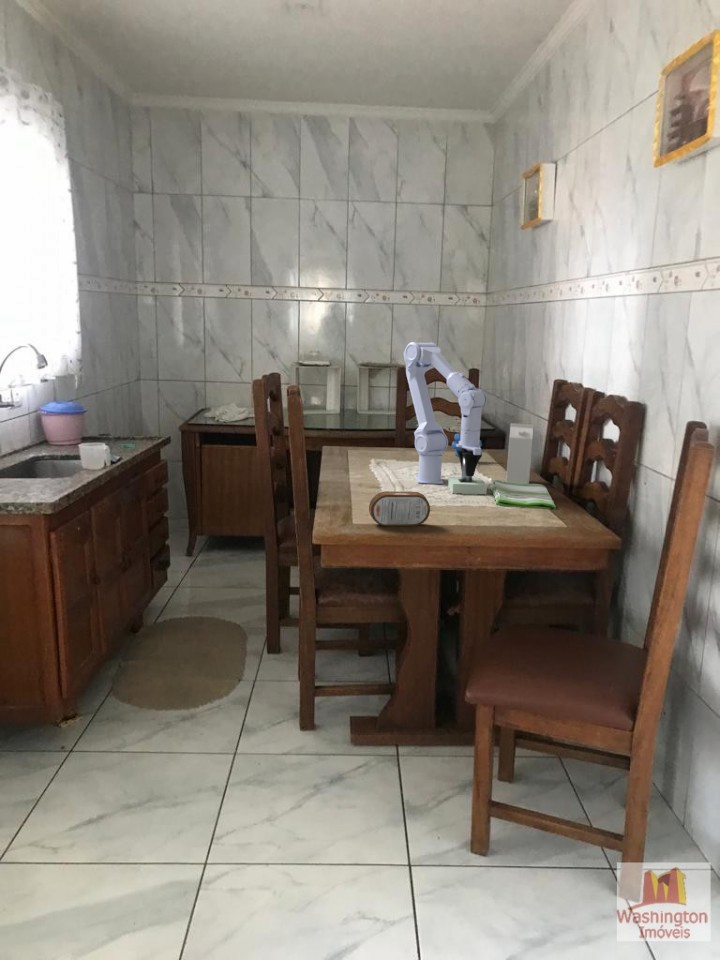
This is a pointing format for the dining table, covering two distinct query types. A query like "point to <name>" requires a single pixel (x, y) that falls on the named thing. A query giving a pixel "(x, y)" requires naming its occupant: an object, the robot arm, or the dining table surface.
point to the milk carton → (519, 453)
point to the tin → (399, 508)
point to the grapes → (457, 438)
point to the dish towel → (521, 495)
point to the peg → (465, 478)
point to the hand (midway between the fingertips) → (467, 474)
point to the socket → (467, 486)
